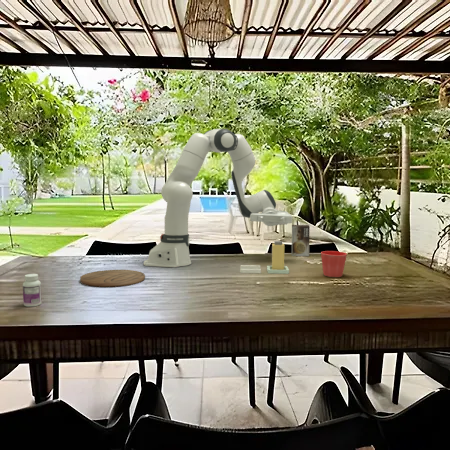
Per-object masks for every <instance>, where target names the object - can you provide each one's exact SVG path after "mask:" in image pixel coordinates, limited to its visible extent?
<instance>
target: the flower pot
mask: <svg viewBox="0 0 450 450" xmlns="http://www.w3.org/2000/svg"><path fill="white" fill-rule="evenodd" d="M347 255H348V253H346V252H343V251H336V250H325V251H321V252H320V258H321V265H322V273H323V275H324V277H325V276H326V277H328V278H329V277H330V278H341V277H343V274H344V270H345V266H346V265H345V264H346V262H347V261H346V260H347Z"/></svg>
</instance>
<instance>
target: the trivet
mask: <svg viewBox="0 0 450 450" xmlns="http://www.w3.org/2000/svg"><path fill="white" fill-rule="evenodd" d="M145 279H146V275H145V273H143V272H142V271H138V270H132V269H107V270H106V269H105V270H98V271H91V272H87V273H84V274H82V275H81V276H80V282H79V283H80V284H82V285H84V286H86V287H92V288H121V287H129V286H134V285H138V284H140V283H142V282H144V281H145Z"/></svg>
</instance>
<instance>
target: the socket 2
mask: <svg viewBox="0 0 450 450" xmlns="http://www.w3.org/2000/svg"><path fill="white" fill-rule="evenodd" d="M266 271H267V274H280V275H282V274H283V275H285V274H287V275H288V274H290V269H289V267H288V266H287V265H284V270H272V265H266Z"/></svg>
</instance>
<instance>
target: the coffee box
mask: <svg viewBox="0 0 450 450" xmlns="http://www.w3.org/2000/svg"><path fill="white" fill-rule="evenodd" d="M310 231H311V230H310V225H309V224H292V225H291V256H292V257H310Z"/></svg>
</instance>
